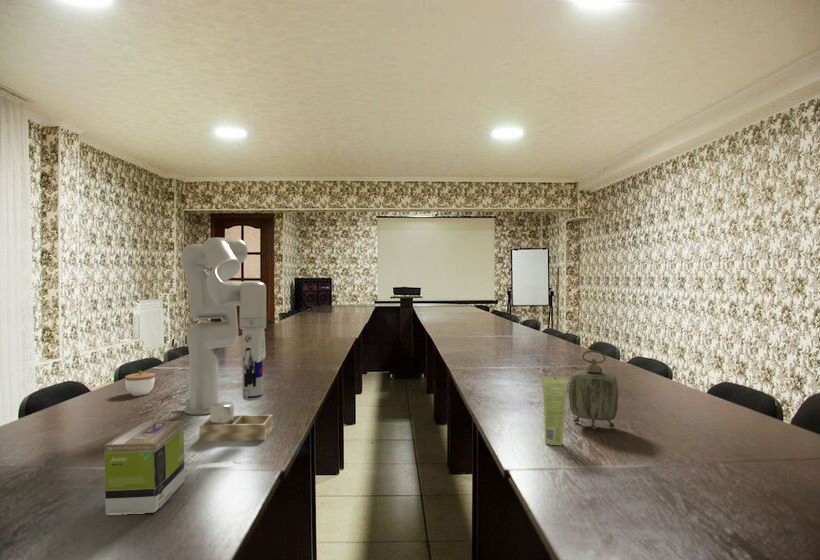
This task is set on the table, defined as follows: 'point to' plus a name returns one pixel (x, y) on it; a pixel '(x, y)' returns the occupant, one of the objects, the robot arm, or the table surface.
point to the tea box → (144, 467)
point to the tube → (554, 408)
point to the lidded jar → (139, 383)
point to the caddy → (237, 429)
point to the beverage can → (257, 391)
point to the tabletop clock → (593, 393)
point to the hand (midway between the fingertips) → (252, 383)
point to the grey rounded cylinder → (222, 413)
